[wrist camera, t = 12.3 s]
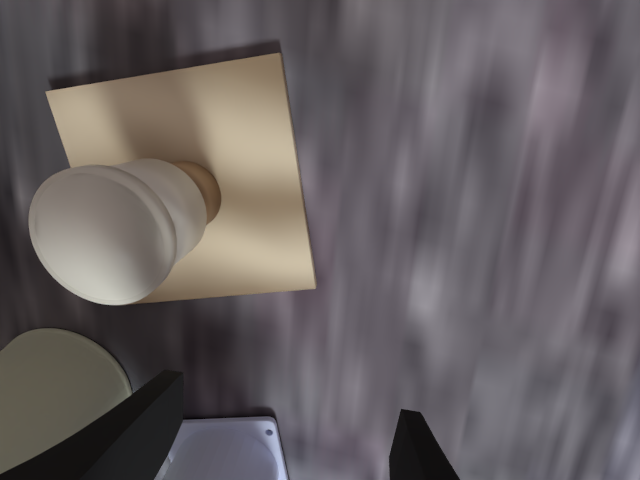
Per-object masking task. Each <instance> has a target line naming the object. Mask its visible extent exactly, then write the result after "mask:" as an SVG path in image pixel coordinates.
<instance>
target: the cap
mask: <svg viewBox="0 0 640 480" xmlns="http://www.w3.org/2000/svg"><path fill="white" fill-rule="evenodd" d="M206 222H207V213H206V206H205V202H204V199H203V197H202V194H201V192H200V190H199V189H198V187H197V186H196V184H195V183H194V181H193V180H192V179H191V178H190V177H189V176H188V175H187V174H186V173H185V172H184V171H182V170H181V169H179V168H178V167H176V166H174V165H173V164H170V163H168V162H166V161H162V160H158V159H151V158H148V159H138V160H133V161H129V162H125V163H120V164H116V165H111V166H106V165H84V166H79V167H74V168H69V169H66V170H63V171H60V172H58V173H56V174H54V175H52V176H51V177H49V178H48V179H47V180H45V181H44V183H43V184H42V185H41V186H40V187H39V188H38V190H37V191H36V193H35V195H34V197H33V199H32V202H31V205H30V209H29V232H30V237H31V241H32V244H33V247H34V249H35V252H36V254H37V255H38V257H39V259H40V261H41V262H42V264H43V265H44V267H45V268H46V270H47V271H48V272H49V273H50V274H51V276H52V277H53V278H54V279H55V280H57V281H58V282H59V283H60V284H61V285H62V286H64V287H65V288H66V289H68V290H69V291H71V292H72V293H74V294H76V295H78V296H80V297H81V298H84V299H86V300H89V301H92V302H95V303H99V304H106V305H124V304H129V303H133V302H136V301H138V300H141V299H142V298H144V297H146V296H147V295H149V294H150V293H151V292H152V291H154V290H155V289H156V288H157V287H158V286H159V285H160V284H161V283H162V282H163V281H164V280H165V279H166V278H167V276H168V275H169V273H170V272H171V270H172V267H173V266H174V265H175V264H176V263H177V262H179V261H180V260H181V259H182V258H183V257H184V256H186V255H187V254H188V253H189V252H190V251H191V250H193V249H194V248H195V247H196V246H197V244H198V243H199V242H200V240H201V239H202V236H203V234H204V231H205V228H206Z"/></svg>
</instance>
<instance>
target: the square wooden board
mask: <svg viewBox="0 0 640 480" xmlns="http://www.w3.org/2000/svg"><path fill="white" fill-rule="evenodd" d="M45 92H46V95H47V98H48V101H49V104H50V107H51V110H52V113H53V116H54V119H55V122H56V125H57V128H58V131H59V134H60V137H61V140H62V143H63V146H64V149H65V152H66V155H67V158H68V160H69V163H70V166H71V168H74V167H79V166H84V165H106V166H111V165H116V164H120V163H125V162H129V161H133V160H138V159H148V158H151V159H158V160H162V161H166V162H168V163H170V164H173V165H174V166H176V167H178V168H179V169H181V170H182V171H184V172H185V173H186V174H187V175H188V176H189V177H190V178H191V179H192V180H193V181H194V183H195V184H196V186H197V187H198V189H199V190H200V192H201V194H202V197H203V199H204V202H205V206H206V213H207V222H206V228H205V231H204V234H203V236H202V239H201V240H200V242H199V243H198V244H197V246H196V247H195V248H194V249H193V250H191V251H190V252H189V253H188V254H187V255H186V256H184V257H183V258H182V259H181V260H180V261H179V262H177V263H176V264H175V265H174V266H173V267H172V270H171V272H170V273H169V275H168V276H167V278H166V279H165V280H164V281H163V282H162V283H161V284H160V285H159V286H158V287H157V288H156V289H155V290H154V291H152V292H151V293H150V294H149V295H147V296H146V297H144V298H142V299H141V300H138V301H136V302H133V303H129V304H140V303H152V302H164V301H176V300H187V299H199V298H211V297H223V296H234V295H246V294H258V293H270V292H281V291H293V290H305V289H316V286H317V281H316V275H315V268H314V261H313V255H312V248H311V242H310V235H309V228H308V222H307V215H306V209H305V202H304V195H303V189H302V182H301V176H300V169H299V162H298V156H297V149H296V143H295V136H294V129H293V123H292V116H291V110H290V103H289V96H288V90H287V83H286V76H285V70H284V63H283V57H282V54H281V53H274V54H268V55H262V56H256V57H250V58H244V59H238V60H232V61H226V62H220V63H214V64H208V65H202V66H196V67H190V68H184V69H178V70H172V71H166V72H160V73H154V74H148V75H142V76H136V77H130V78H124V79H117V80H111V81H105V82H99V83H93V84H87V85H81V86H75V87H69V88H63V89H57V90H51V91H45ZM124 305H128V304H124Z"/></svg>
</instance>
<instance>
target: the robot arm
mask: <svg viewBox="0 0 640 480" xmlns="http://www.w3.org/2000/svg"><path fill="white" fill-rule="evenodd" d="M268 429H269V430H272V431H269V430H268ZM167 455H168V456H169V459H170V462H171V464H170V466H169V468H168V470H167V472H166V474H165V476H164V478H163V480H289V479H288V475H287V470H286V465H285V461H284V456H283V451H282V447H281V442H280V437H279V433H278V428H277V423H276V421H275V419H274V418H272V417H269V416H264V417H240V418H217V419H193V420H183V373H182V372H176V371H170V370H164V371H163V372H161V373H160V374H159V375H157V376H156V377H155V378H153V379H152V380H151V381H149V382H148V383H147V384H145V385H144V386H143V387H141V388H140V389H139V390H137V391H136V392H134V393H133V394H132V395H130V396H129V397H128V398H126V399H125V400H124V401H122V402H121V403H119V404H118V405H116V406H115V407H114V408H112V409H111V410H109V411H108V412H107V413H105V414H104V415H102V416H101V417H99V418H98V419H96V420H95V421H93V422H92V423H90V424H89V425H87V426H86V427H84V428H83V429H81V430H80V431H78V432H76V433H75V434H73V435H72V436H70V437H68V438H67V439H65V440H63V441H62V442H60V443H58V444H57V445H55V446H53V447H51V448H49V449H48V450H46V451H44V452H42V453H41V454H39V455H37V456H35V457H33V458H31V459H29V460H27V461H25V462H23V463H21V464H19V465H17V466H15V467H13V468H11V469H9V470H7V471H5V472H3V473H1V474H0V480H154V478H155V477H156V475H157V473H158V471H159V470H160V468H161V466H162V464H163V463H164V461H165V459H166V457H167ZM389 467H390V480H460V479H459V477H458V476H457V474H456V472H455V471H454V469H453V468H452V466H451V464H450V463H449V461H448V460H447V458H446V456H445V455H444V453H443V451H442V450H441V448H440V446H439V444H438V443H437V441H436V439H435V437H434V436H433V434H432V432H431V430H430V428H429V426H428V425H427V423H426V421H425V419H424V417H423V415H422V414H421V413H420V412H416V411H410V410H404V409H401V412H400V416H399V420H398V424H397V428H396V432H395V436H394V440H393V444H392V448H391V452H390V456H389Z"/></svg>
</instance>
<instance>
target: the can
mask: <svg viewBox="0 0 640 480" xmlns="http://www.w3.org/2000/svg"><path fill="white" fill-rule="evenodd" d="M130 395H132V390H131V386H130V383H129V380H128V378H127V376H126V374H125V372H124V371H123V369H122V368H121V366H120V365H119V363H118V362H117V361H116V360H115V359H114V358H113V357H112V356H111V355H110V354H109V353H108V352H107V351H106V350H105V349H104V348H102V347H101V346H100V345H98V344H97V343H95V342H94V341H92V340H90V339H88V338H86V337H84V336H82V335H80V334H77V333H74V332H71V331H67V330H62V329H56V328H42V329H35V330H31V331H28V332H25V333H23V334H21V335H19V336H17V337H16V338H14V339H13V340H12V341H11V342H10V343H9V344H8V345H7V346H6V347H5V348H4V349H2V350H1V351H0V474H1V473H3V472H5V471H7V470H9V469H11V468H13V467H15V466H17V465H19V464H21V463H23V462H25V461H27V460H29V459H31V458H33V457H35V456H37V455H39V454H41V453H42V452H44V451H46V450H48V449H49V448H51V447H53V446H55V445H57V444H58V443H60V442H62V441H63V440H65V439H67V438H68V437H70V436H72V435H73V434H75V433H76V432H78V431H80V430H81V429H83V428H84V427H86V426H87V425H89V424H90V423H92V422H93V421H95V420H96V419H98V418H99V417H101V416H102V415H104V414H105V413H107V412H108V411H109V410H111V409H112V408H114V407H115V406H116V405H118V404H119V403H121V402H122V401H124V400H125V399H126V398H128V397H129V396H130Z"/></svg>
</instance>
